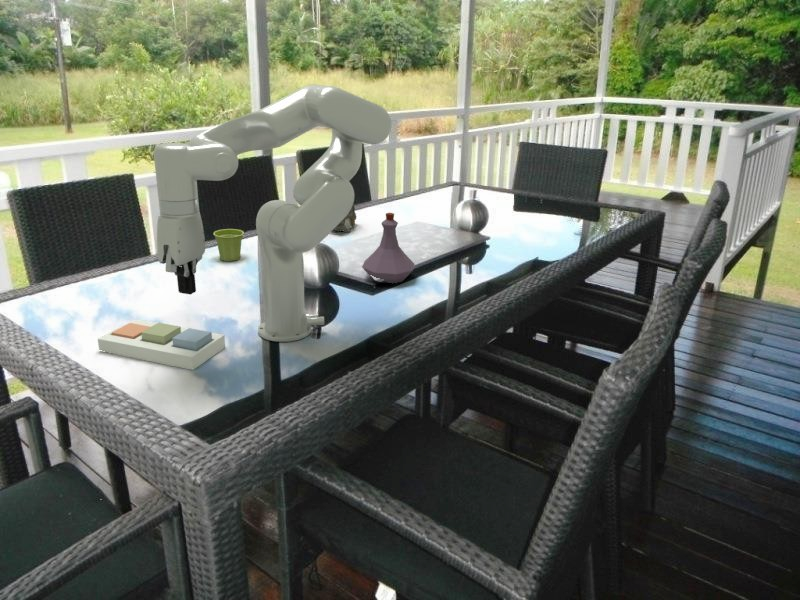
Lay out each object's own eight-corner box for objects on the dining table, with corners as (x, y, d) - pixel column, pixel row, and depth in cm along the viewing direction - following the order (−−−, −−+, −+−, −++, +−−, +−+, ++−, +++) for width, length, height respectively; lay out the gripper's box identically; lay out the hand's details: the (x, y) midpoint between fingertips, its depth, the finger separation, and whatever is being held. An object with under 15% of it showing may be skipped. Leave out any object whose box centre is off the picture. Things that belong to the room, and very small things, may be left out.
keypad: (225, 347, 142) (224, 334, 141) (193, 370, 131) (191, 357, 130) (136, 330, 149) (135, 318, 148) (99, 351, 138) (97, 338, 137)
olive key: (181, 335, 141) (180, 326, 140) (164, 345, 136) (163, 336, 135) (159, 331, 142) (158, 322, 142) (142, 341, 137) (141, 332, 137)
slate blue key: (212, 341, 139) (211, 332, 138) (196, 351, 133) (195, 342, 133) (189, 337, 140) (188, 328, 139) (173, 347, 135) (172, 338, 134)
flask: (350, 281, 186) (350, 215, 179) (377, 267, 200) (379, 205, 193) (399, 292, 179) (401, 223, 172) (424, 276, 193) (427, 212, 186)
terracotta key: (152, 335, 144) (151, 326, 143) (134, 345, 138) (133, 336, 138) (131, 331, 145) (129, 322, 144) (113, 341, 140) (111, 332, 139)
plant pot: (249, 255, 207) (247, 229, 203) (239, 264, 198) (238, 237, 195) (221, 253, 207) (219, 228, 204) (210, 262, 199) (208, 235, 195)
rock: (357, 188, 230) (321, 177, 235) (340, 221, 226) (304, 209, 231) (367, 213, 247) (334, 202, 252) (351, 244, 243) (318, 232, 248)
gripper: (186, 198, 134) (193, 279, 140) (138, 212, 120) (148, 301, 127) (216, 201, 132) (222, 283, 138) (171, 216, 118) (180, 307, 125)
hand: (187, 292), depth 133 cm, fingers closed
